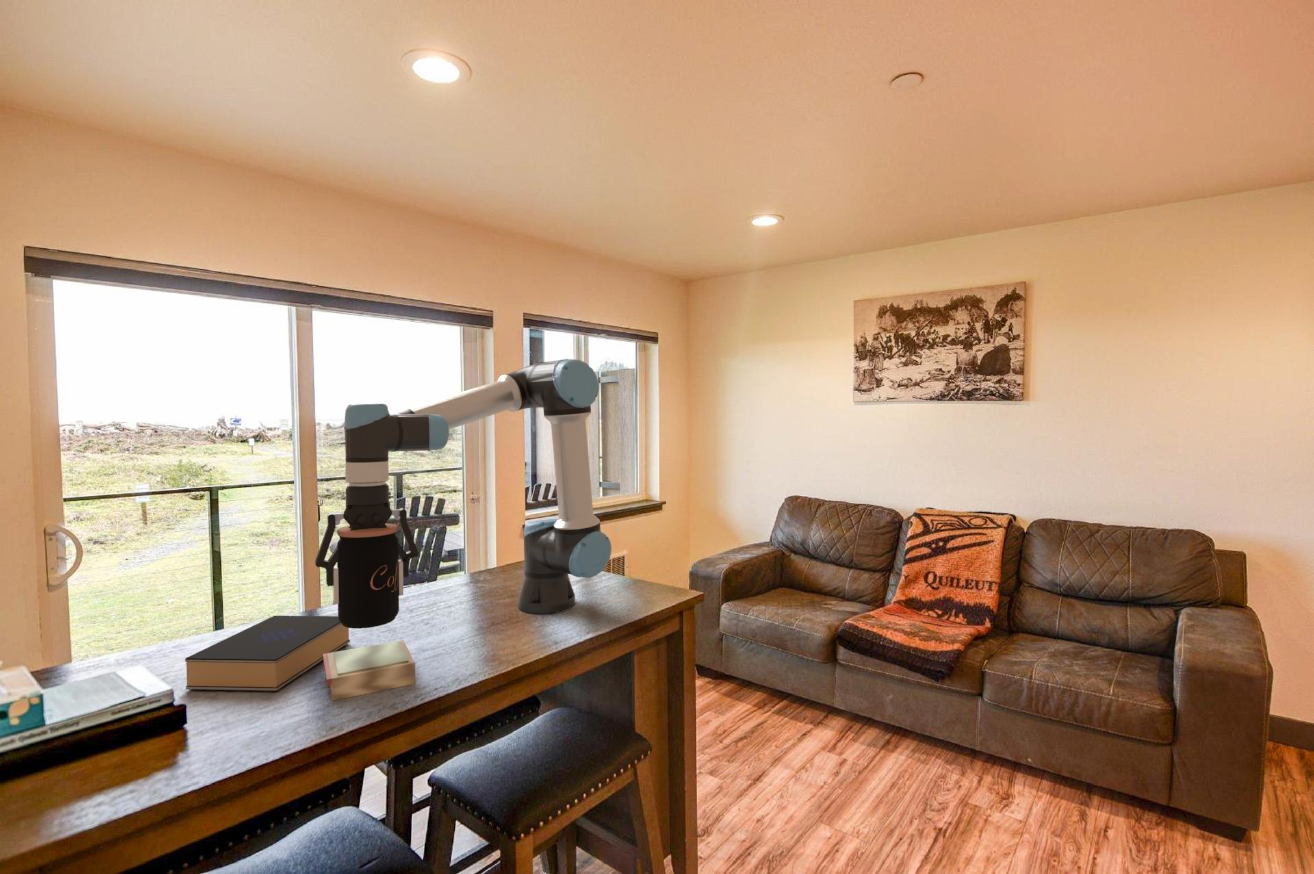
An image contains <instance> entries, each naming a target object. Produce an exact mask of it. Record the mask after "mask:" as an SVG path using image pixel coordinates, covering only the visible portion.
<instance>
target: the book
mask: <svg viewBox="0 0 1314 874" xmlns="http://www.w3.org/2000/svg"><path fill="white" fill-rule="evenodd" d="M349 629H350V628H347V627H345V626H343V625H342V623H341V622H340V621H339V619H338V615H335V616H334V615H273V616H271V617H268V618H266V619H264V620H263V621H261V622H259V623H256V624H253V625H252V626H250V627H247V628H246V629H244V630H241V631H240V632H237V633H235V634H233V635H231V636H229V637H227V638H225V639H223V640H220V641H218V642H216V643H213V644H212V645H210V646H208V647H206V648H204V649H202V650H200V651H197V652H195V653H194V654H191V655H189V656H187V657H185V659H184V662H186V665H185V667H186V685H185V690H189V691H190V690H192V691H193V690H197V691H198V690H199V691H200V690H202V691H248V692H249V691H256V692H257V691H259V692H261V691H263V692H265V691H266V692H277V691H279V690H280V689H281V688H284V687H285V686H286V685H287V684H289V683H291V682H292V681H294V680H295V679H297V678H299V677H300V676H301V675H303V674H304V673H305V672H308V671H309V670H310V669H312V668H314V667H315V666H316V665H318V664H319V663H321V662H323V654H326V653H332V652H338V651H340V649H341V648H343V647H345V646H347V645H348V644H350V643H351V639H350V632H349V631H350V630H349Z"/></svg>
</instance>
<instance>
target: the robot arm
mask: <svg viewBox="0 0 1314 874" xmlns="http://www.w3.org/2000/svg"><path fill="white" fill-rule="evenodd" d="M599 391H600V385H599V380H598V377H597V375H596V372H595V370H594V369H593V368H592V367H591V366H590V365H589V364H588V363H587V362H585V361H583V360H581V359H573V358H572V359H571V358H564V359H558V360H551V361H549V360H548V361H540V362H536V363H534V364H533V363H532V364H530V365H527V366H525V367H523V368H521V369H517V370H515V371H511V372H509V373H507V374H502V375H501V376H499V378H498V379H497V380H496V381H493V382H490V383H487V384H483V385H479V386H477V387H473V388H470V389H467V390H464V391H460V392H457V393H453V394H450V395H448V396H444V397H441V398H438V399H437V398H436V399H433V400H431V401H427V402H423V403H420V404H417V405H413V406H410V407H408V408H407V407H406V408H405V409H401V410H397V411H394V412H391V413H390V412H389V408H388V405H387V404H385V403H377V402H376V403H373V402H372V403H371V402H366V403H365V402H361V403H360V402H359V403H358V402H357V403H356V402H355V403H354V402H353V403H349V404H348V405H347V406H346V407H345V411H344V412H345V413H344V426H343V429H344V446H345V447H344V451H345V464H344V465H345V470H344V471H345V482H346V483H347V484H348V485H346V487H345V509H344V511H343V512H338V513H333V512H329V513H328V514H327V516H326V517H327V518H326V519H327V526H326V529H325V532H324V535H323V537H322V540H321V543H320V546H319V549H318V551H317V554H316V557H315V560H314V564H315V567H316V568H323V569H325V576H326V577H325V579H326V581H325V583H326V585H327V587H332V597H333V598H332V601H333V605H338V604H339V586H338V567H337V565H336V564H337V561H338V560H339V554H338V547H337V546H336V547H335V548H334V550H333V552H332V554H331V555H330V556H329V558H328V560H327V559H326V557H327V554H328V551H329V548H330V545H331V542H332V540H333V536H334V534H335V530H336V527H337V526H338V525H340V523H341V521H342V520H345V522H346V523H347V524H348V526H349V528H351V529H350V531H351V530H359V529H369V528H388V527H387V526H386V525H385V523H388V520H390V518H391V517H392V516H393V517H394V519H395V520H396V521H398V523H399V524H398V525H399V527H400V529H401V532H402V534H403V537H404V540H405V542H406V545H407V548H408V550H407V551H406V550H405V549H404V548H403V547H402V545H401V543H399V542H398V557H400V559H398V572H399V597H400V596H404V578H408V577H409V575H410V565H409V564H410V561H411V559H413V558H416V557H417V558H418V556H419V555H420V554H419V550H418V547H417V545H416V543H415V540H414V538H413V534H412V532H411V529H410V526H409V523H408V522H407V520H408V519H407V518H408V515H407V513H408V512H407V510H406V509H405V508H403V507H401V508H398V509H396V508H395V509H391V507H390V491H389V490H390V486H389V484H388V483H386V482H388V481H389V479H390V477H389V476H390V475H389V474H390V471H389V459H390V458H389V457H390V456H389V452H391V453H395V452H420V451H421V452H423V451H425V452H426V451H427V452H431V451H439V450H442V449H444V448H445V447H446V445H447V444H448V441H449V438H450V437H449V436H450V430H452V429H455V428H458V427H462V426H464V425H467V424H471V423H474V422H476V421H479V420H482V419H485V418H487V417H490V416H493V415H497V414H499V413H503V412H505V411H509V412H512V413H515V412H518V411H521V410H526V409H537V408H542V409H543V417H544V418H545V419H546V420H547V421H548V422H549V423H550V427H551V438H552V450H553V452H552V453H553V461H554V470H555V471H554V476H555V483H556V484H555V485H556V498H557V509H558V518H549V519H548V518H547V519H541V520H539V519H538V520H533V521H529V522H527V523H526V524H524V529H523V537H522V538H523V559H524V560H523V561H524V562H523V564H524V568H523V569H524V571H523V572H524V576H523V577H524V579H523V582H522V585H521V588H520V591H519V594H518V598H517V608H518V609H519V610H520V611H522V612H525V613H530V614H554V613H560V612H563V611H567V610H570V609H572V608H573V607H574V606H576V594H575V591H574V589H573V585H572V582H571V578H570V576H569V575H571V576H573V577H576V578H587V579H590V578H594V577H596V576H598V575H599V574H600V573H602V571H604V569H605V568H606V566H607V565H608V563H609V561H610V560H611V559H610V558H611V555H612V543H611V540H610V538H609V537H608V536H607V534H605V532H602V531H601V521H600V518H598V517H597V516H596V515H595V514H594V507H593V495H592V494H593V493H592V483H591V482H592V481H591V472H590V470H591V469H590V458H589V457H590V456H589V445H588V443H589V442H588V434H587V433H588V432H587V431H588V430H587V422H586V421H587V418H588V417H590V415H591V414H592V408H591V407H592V406H591V405H592V404H594V402H595V401H596V398H597V397H598V395H599Z"/></svg>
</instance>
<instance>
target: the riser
mask: <svg viewBox="0 0 1314 874" xmlns="http://www.w3.org/2000/svg"><path fill="white" fill-rule="evenodd" d="M407 646H408V645H406V643H405V641H404V640H403V639H402V640H396V641H391V642H385V643H380V644H373V645H367V646H362V647H356V648H351V649H345V650H337V651H336V652H332V653H326V654H323V660H322V662H323V667H324V675H325V676H324V677H325V682H326V683H325V684H326V686H327V687H329V690H330V695H331V700H332V702H333V701H337V700H343V699H348V698H352V697H357V696H362V695H363V696H364V695H368V694H372V693H376V692H380V691H386V690H392V689H395V688H396V689H397V688H401V687H406V686H410V685H414V684H416V662H415V660H414V658H413V656H412V653H410V650H409V648H408V647H407Z"/></svg>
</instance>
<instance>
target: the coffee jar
mask: <svg viewBox="0 0 1314 874" xmlns="http://www.w3.org/2000/svg"><path fill="white" fill-rule="evenodd" d="M385 525H386V526H387V527H388V528H369V529H359V530H351V531H350V529H351V528H349V526H350V525H346V526H342V527H340V528H338V529H337V530H336V533H337V534H336V535H337V536H338V538H339V540H338V541H337V543H336V547H338V554H339V560H338V561H337V563H336V564H337V565H336V566H337V567H338V586H339V604H337V616H338V619H339V621H340V622H341V623H342V625H343V626H345V627H347V628H349V629H358V630H359V629H370V628H377V627H379V626H384V625H387V624H389V623H392V622H394V621H395V619H396V618H397V616H398V614H399V612H400V596H399V572H398V560H399V554H398V543H399V538H398V536H396V533H397V532H398V529H399V526H398V525H397V524H394V523H388V522H386V523H385Z"/></svg>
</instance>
